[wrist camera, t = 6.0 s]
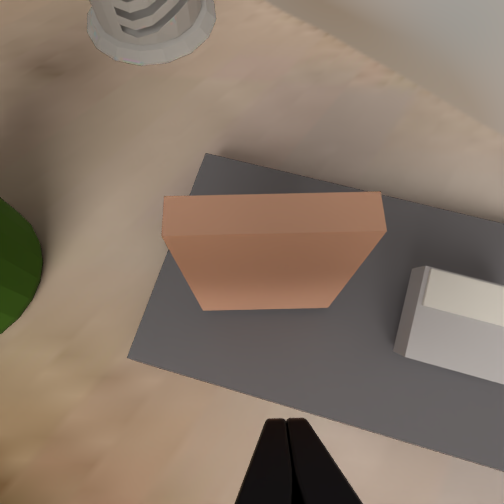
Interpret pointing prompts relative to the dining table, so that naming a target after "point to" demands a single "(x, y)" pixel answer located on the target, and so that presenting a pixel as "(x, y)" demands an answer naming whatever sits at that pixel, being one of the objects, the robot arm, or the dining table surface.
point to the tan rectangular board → (271, 246)
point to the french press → (149, 28)
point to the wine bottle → (17, 264)
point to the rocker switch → (453, 323)
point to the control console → (339, 329)
